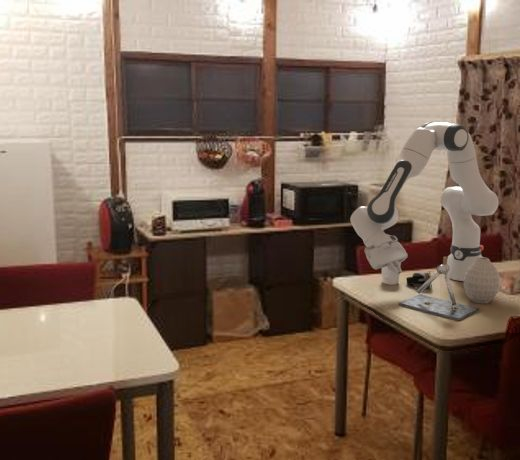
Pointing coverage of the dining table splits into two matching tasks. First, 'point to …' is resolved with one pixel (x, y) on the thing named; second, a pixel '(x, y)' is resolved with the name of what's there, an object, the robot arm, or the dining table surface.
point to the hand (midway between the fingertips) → (398, 273)
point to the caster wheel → (419, 279)
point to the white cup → (389, 276)
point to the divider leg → (433, 277)
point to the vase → (481, 281)
